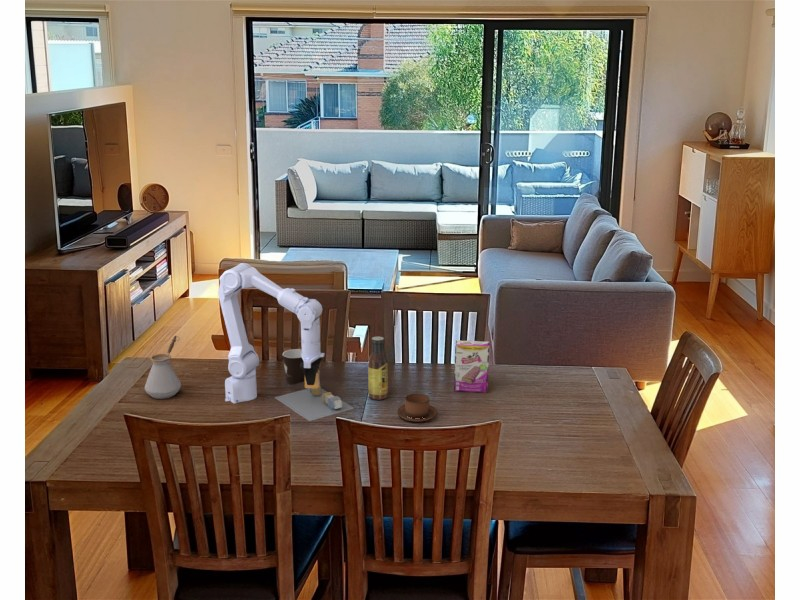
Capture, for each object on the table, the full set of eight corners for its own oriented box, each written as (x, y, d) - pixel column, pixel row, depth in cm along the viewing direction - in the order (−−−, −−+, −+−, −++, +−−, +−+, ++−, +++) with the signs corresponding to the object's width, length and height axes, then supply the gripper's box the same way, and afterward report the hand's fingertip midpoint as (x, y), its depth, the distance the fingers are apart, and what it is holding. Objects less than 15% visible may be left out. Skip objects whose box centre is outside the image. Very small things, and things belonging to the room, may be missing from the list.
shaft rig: (334, 412, 267) (334, 401, 266) (301, 391, 283) (300, 381, 282) (349, 408, 270) (349, 397, 269) (316, 387, 286) (316, 377, 285)
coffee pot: (174, 402, 278) (171, 357, 274) (139, 400, 280) (135, 356, 275) (196, 377, 299) (193, 335, 294) (163, 375, 300) (159, 334, 296)
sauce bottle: (385, 401, 279) (385, 342, 273) (366, 400, 280) (365, 341, 274) (389, 393, 285) (389, 335, 279) (371, 392, 286) (370, 334, 281)
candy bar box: (453, 392, 286) (454, 344, 282) (454, 386, 291) (455, 339, 286) (488, 393, 285) (489, 346, 281) (488, 387, 290) (489, 340, 285)
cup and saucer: (391, 412, 272) (391, 393, 270) (427, 406, 276) (427, 388, 274) (405, 427, 261) (405, 408, 259) (442, 421, 265) (443, 402, 263)
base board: (309, 425, 262) (309, 421, 261) (274, 401, 279) (274, 397, 278) (354, 412, 271) (354, 408, 270) (317, 390, 288) (317, 386, 287)
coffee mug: (307, 386, 291) (306, 358, 288) (281, 386, 291) (280, 357, 288) (311, 373, 302) (311, 346, 299) (286, 373, 302) (285, 345, 299)
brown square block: (304, 388, 268) (304, 372, 267) (306, 383, 272) (306, 368, 271) (317, 388, 268) (317, 373, 267) (319, 383, 272) (319, 368, 271)
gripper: (320, 348, 259) (321, 391, 263) (327, 332, 273) (328, 373, 276) (296, 347, 259) (297, 390, 263) (305, 332, 273) (306, 372, 277)
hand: (312, 381), depth 270 cm, fingers closed on brown square block, 4 cm apart
